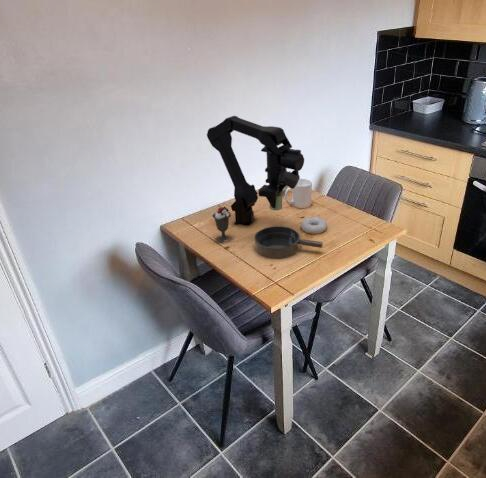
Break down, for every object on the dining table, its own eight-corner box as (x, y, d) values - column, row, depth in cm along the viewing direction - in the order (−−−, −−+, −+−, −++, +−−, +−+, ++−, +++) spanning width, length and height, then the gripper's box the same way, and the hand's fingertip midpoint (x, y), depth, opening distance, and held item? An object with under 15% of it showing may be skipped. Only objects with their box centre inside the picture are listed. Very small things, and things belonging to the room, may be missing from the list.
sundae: (218, 245, 156) (214, 208, 149) (212, 237, 161) (208, 201, 154) (235, 241, 159) (232, 204, 151) (228, 233, 164) (225, 197, 156)
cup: (314, 206, 183) (315, 184, 178) (289, 211, 179) (288, 189, 174) (306, 198, 190) (306, 177, 185) (281, 204, 186) (280, 182, 181)
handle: (297, 245, 150) (297, 240, 149) (299, 242, 151) (299, 237, 150) (321, 249, 147) (321, 244, 146) (322, 246, 149) (322, 241, 148)
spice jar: (268, 209, 158) (267, 192, 154) (272, 204, 161) (272, 188, 158) (280, 211, 156) (279, 194, 153) (284, 205, 160) (283, 189, 157)
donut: (298, 234, 162) (325, 236, 160) (298, 226, 160) (325, 228, 159) (303, 222, 171) (328, 224, 169) (303, 214, 169) (328, 216, 167)
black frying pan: (248, 255, 150) (247, 244, 147) (264, 234, 163) (263, 223, 161) (292, 263, 145) (292, 251, 143) (305, 240, 158) (305, 229, 156)
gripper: (288, 177, 141) (288, 219, 149) (304, 158, 156) (304, 197, 164) (256, 173, 144) (258, 215, 152) (275, 155, 159) (276, 194, 167)
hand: (275, 205), depth 158 cm, fingers closed on spice jar, 4 cm apart
